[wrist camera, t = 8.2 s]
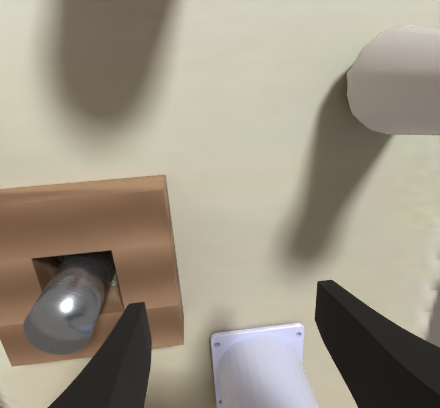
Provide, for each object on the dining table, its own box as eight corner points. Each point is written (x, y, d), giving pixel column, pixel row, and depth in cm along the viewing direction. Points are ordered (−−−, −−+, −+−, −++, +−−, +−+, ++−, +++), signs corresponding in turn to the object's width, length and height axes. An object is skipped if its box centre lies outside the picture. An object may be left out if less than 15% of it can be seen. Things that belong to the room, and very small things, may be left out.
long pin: (119, 277, 24) (96, 351, 18) (72, 280, 24) (31, 357, 17) (114, 237, 23) (86, 301, 16) (64, 239, 23) (16, 306, 16)
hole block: (183, 315, 26) (183, 344, 23) (30, 334, 25) (11, 366, 23) (165, 174, 22) (162, 190, 19) (-24, 191, 21) (-55, 210, 18)
